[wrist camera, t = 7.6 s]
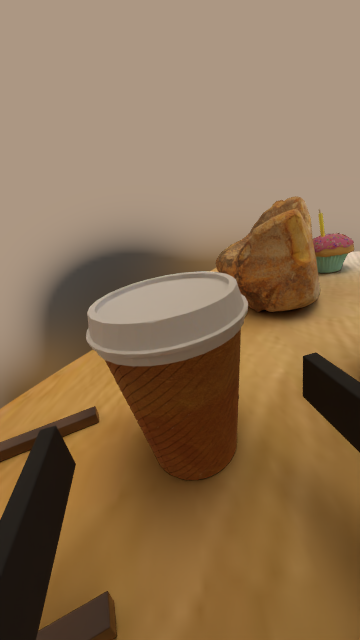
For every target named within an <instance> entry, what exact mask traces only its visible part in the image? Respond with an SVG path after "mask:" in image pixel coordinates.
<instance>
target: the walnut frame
mask: <svg viewBox="0 0 360 640" xmlns="http://www.w3.org/2000/svg"><path fill="white" fill-rule="evenodd" d="M98 422H99V415H98V412H97V409H96V407H95V406H94V407H92V408H89V409H86V410H84V411H81V412H79V413H76V414H73V415H71V416H68V417H66V418H63V419H60V420H58V421H55V422H52V423H50V424H47V425H45V426H42V427H39V428H37V429H34V430H32V431H29V432H26V433H24V434H21V435H18V436H16V437H13V438H11V439H8V440H5V441H3V442H0V461H3V460H5V459H8V458H10V457H13V456H15V455H18V454H20V453H23V452H25V451H28V450H30V449H32V447H33V445H34V442H35V440H36V438H37V435H38V433H39V431H40V430H41V429H45V428H48V427H52V426H57V428H58V430H59V432H60V434H61V436H62V437H63V436H65V435H68V434H70V433H73V432H75V431H78V430H80V429H83V428H85V427H88V426H90V425H93V424H95V423H98ZM116 637H117V632H116V620H115V608H114V600H113V599H112V597H111V596H110V594H109V592H108V591H107V592H105V593H103V594H101V595H100V596H98V597H96V598H94V599H93V600H91V601H89V602H88V603H86V604H84V605H82V606H81V607H79V608H77V609H75V610H74V611H72V612H70V613H69V614H67V615H65V616H63V617H62V618H60V619H58V620H57V621H55V622H53V623H51V624H50V625H48V626H46V627H44V628H43V629H41V630H39V631H38V633H37V638H36V640H112V639H114V638H116Z"/></svg>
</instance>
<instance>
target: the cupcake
mask: <svg viewBox="0 0 360 640" xmlns="http://www.w3.org/2000/svg"><path fill="white" fill-rule="evenodd" d="M319 213H320V214H319V223H320V232H321V236H319V237H316V238H314V239H313V245H314V250H315V255H316V262H317V269H318V272H319V273H331V272H336V271H339V270H340V269H341V267H342V265H343V262H344V260H345V258H346V256H347V255H348V253H350V252H352V251H354V245H353V240H352V239H351V238H349V237H347V236H345V235H343V234H339V233H338V234H326V235H325V233H324V223H323V215H322V213H321V212H320V210H319Z"/></svg>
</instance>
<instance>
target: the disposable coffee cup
mask: <svg viewBox="0 0 360 640" xmlns="http://www.w3.org/2000/svg"><path fill="white" fill-rule="evenodd" d="M247 312H248V301H247V300H246V298H245V296H243V295H242V294H241V293H240V290H239V287H238V284H237V281H236V279H235V278H234V277H232V276H230V275H228V274H225V273H219V272H187V273H179V274H172V275H167V276H162V277H157V278H152V279H148V280H145V281H141V282H138V283H134V284H131V285H128V286H126V287H123V288H121V289H118V290H116V291H113V292H111V293H109V294H107V295H105V296H103V297H102V298H100V299H99V300H97V301H96V302H95V303H94V304H92V305H91V306H90V308H89V310H88V312H87V315H88V324H89V328H88V330H87V333H86V339H87V342H88V344H89V345H90V346H91V348H92V349H93V350H95V351H97V353H98V355H99V356H101V357H102V358H103V359H104V360H105V361H106V363H107V365H108V367H109V368H110V371H111V373H112V374H113V376H114V378H115V380H116V382H117V384H118V385H119V388H120V390H121V392H122V393H123V396H124V397H125V399H126V401H127V403H128V405H129V406H130V409H131V410H132V412H133V414H134V416H135V418H136V420H138V421H137V422H138V424H139V426H140V427H141V429H142V431H143V433H144V435H145V437H146V439H147V441H148V443H149V445H150V446H151V448H152V450H153V452H154V454H155V456H156V458H157V460H158V462H159V464H160V465H161V467H162V468H163V469H164V470H165V471H166V472H168V473H169V474H170V475H172V476H175V477H178V478H180V479H185V480H199V479H203V478H207V477H210V476H212V475H214V474H216V473H218V472H219V471H221V470H222V469H223V468H224V467H225V466H226V465H227V464H228V463H229V462H230V460H231V459H232V457H233V456H234V453H235V450H236V445H237V420H238V399H239V394H238V391H239V364H240V335H241V327H242V325H243V323H244V318H245V316H246V314H247Z"/></svg>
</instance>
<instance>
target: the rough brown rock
mask: <svg viewBox="0 0 360 640" xmlns="http://www.w3.org/2000/svg"><path fill="white" fill-rule="evenodd" d="M216 267H217V270H218V272H219V273H225V274H228V275H230V276H232V277H234V278H235V279H236V281H237V284H238V287H239V290H240V293H241V294H242V295H243V296H245V298H246V300H247V301H248V306H249V307H250V308H251V309H254V310H256V311H257V312H260V311H261V310H263V309H265V310H267V311H270V312H275V311H286V310H293V309H298V308H302V307H305V306H307V305H309V304H311V303H313V302H314V301H316V299H317V298H318V297H319V295H320V283H319V276H318V269H317V262H316V255H315V250H314V245H313V239H312V229H311V218H310V215H309V212H308V209H307V207H306V204H305V201H304V200H303V199H302V198H300V197H291V198H288V199H286V200H285V201H283V200H280V201H276V202H275V203H274V204H273V206H272V207H271V208H270V209H268V210H267V211H265V212H264V213H263V214H262V215H261V217H260V218H259V220H258V221H257V222H256V223H255V224H254V226H253V228H252V229H251V232H250V233H249V234H248V235H247V236H246V237H245V238H243V239H242V240H240V241H238V242H236V243H234V244H232V245H230V246H229V247H228V248H227V249H225V250H224V251H222V252H221V254H220V255H219V256H218V258H217V260H216Z"/></svg>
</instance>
